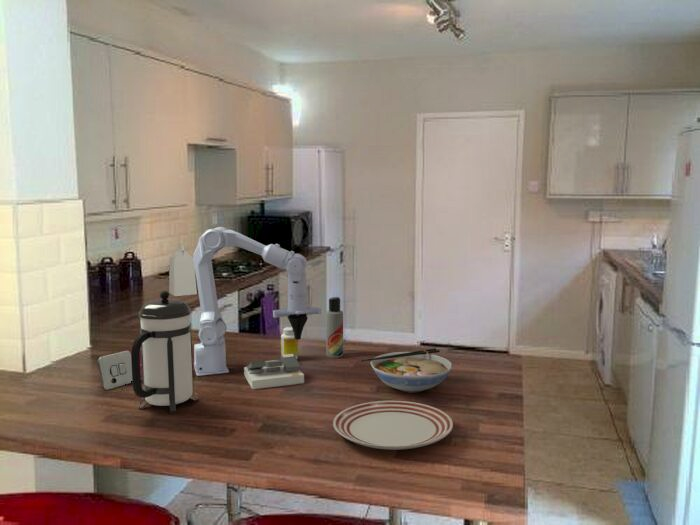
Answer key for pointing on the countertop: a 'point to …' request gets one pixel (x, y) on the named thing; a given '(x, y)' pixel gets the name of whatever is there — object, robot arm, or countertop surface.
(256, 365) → the panel
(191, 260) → the milk
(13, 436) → the countertop surface
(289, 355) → the rocker right
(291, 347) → the supplement bottle
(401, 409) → the dinner plate
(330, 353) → the lotion bottle
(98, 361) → the electrical switch
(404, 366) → the ramen bowl
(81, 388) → the countertop surface
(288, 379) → the switch unit
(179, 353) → the coffee press
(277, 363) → the rocker middle
